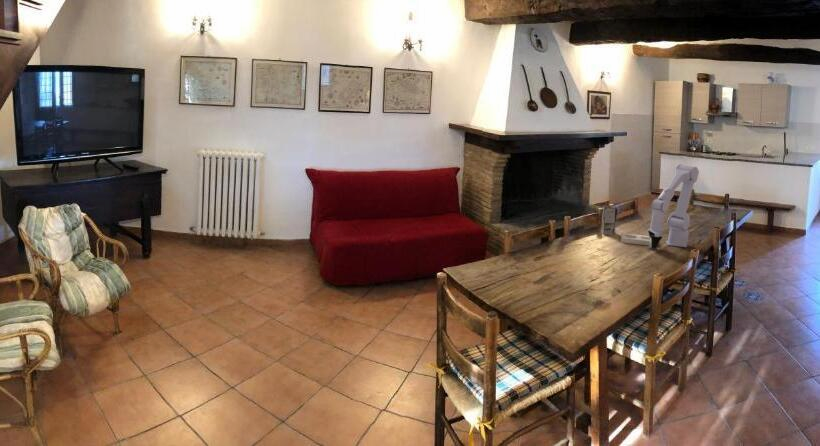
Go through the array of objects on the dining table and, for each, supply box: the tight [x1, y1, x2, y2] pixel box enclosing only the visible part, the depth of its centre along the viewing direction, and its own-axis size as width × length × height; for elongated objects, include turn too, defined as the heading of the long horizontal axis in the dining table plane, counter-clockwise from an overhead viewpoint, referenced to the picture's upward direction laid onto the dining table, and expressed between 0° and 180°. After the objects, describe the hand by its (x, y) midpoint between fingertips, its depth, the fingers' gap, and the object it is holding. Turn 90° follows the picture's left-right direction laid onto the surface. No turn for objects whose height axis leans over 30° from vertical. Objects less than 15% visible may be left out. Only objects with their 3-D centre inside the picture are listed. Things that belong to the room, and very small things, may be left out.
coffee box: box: [600, 204, 619, 237], centre depth 297 cm, size 9×6×16 cm
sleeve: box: [648, 238, 658, 251], centre depth 270 cm, size 4×4×6 cm
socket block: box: [620, 232, 650, 246], centre depth 284 cm, size 18×11×2 cm, turn 72°
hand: (653, 246), depth 271 cm, fingers open, 7 cm apart
